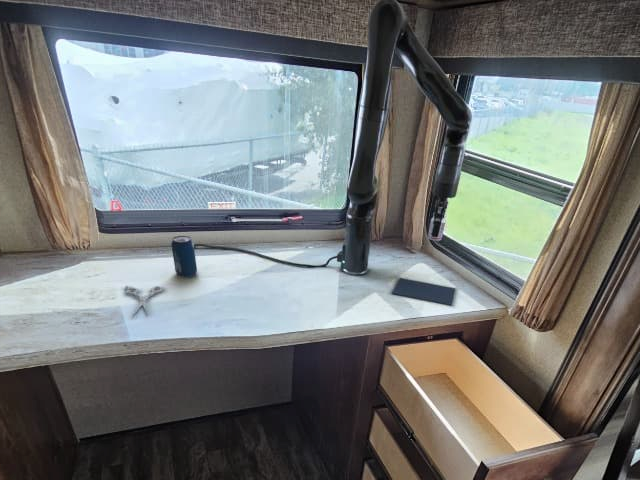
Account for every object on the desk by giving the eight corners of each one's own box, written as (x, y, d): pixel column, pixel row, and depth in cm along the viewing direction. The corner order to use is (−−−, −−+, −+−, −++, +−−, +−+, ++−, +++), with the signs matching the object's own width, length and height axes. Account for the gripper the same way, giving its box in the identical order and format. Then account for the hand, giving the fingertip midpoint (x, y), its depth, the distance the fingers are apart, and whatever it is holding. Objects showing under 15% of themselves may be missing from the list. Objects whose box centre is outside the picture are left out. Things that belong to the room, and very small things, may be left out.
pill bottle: (441, 241, 143) (447, 215, 138) (427, 239, 144) (432, 213, 139) (441, 237, 147) (447, 212, 142) (427, 235, 148) (432, 210, 143)
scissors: (162, 283, 136) (160, 312, 121) (162, 286, 137) (160, 315, 122) (125, 285, 133) (119, 315, 118) (126, 288, 134) (120, 318, 119)
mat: (391, 294, 144) (392, 292, 144) (399, 278, 155) (399, 277, 155) (451, 305, 141) (451, 304, 140) (455, 289, 151) (455, 288, 151)
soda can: (199, 270, 149) (195, 235, 141) (194, 278, 143) (190, 243, 136) (179, 269, 148) (173, 234, 141) (173, 277, 143) (167, 241, 135)
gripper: (437, 173, 141) (426, 226, 151) (432, 182, 129) (421, 238, 140) (460, 177, 139) (448, 230, 149) (457, 185, 128) (444, 242, 138)
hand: (435, 234), depth 144 cm, fingers closed on pill bottle, 4 cm apart
